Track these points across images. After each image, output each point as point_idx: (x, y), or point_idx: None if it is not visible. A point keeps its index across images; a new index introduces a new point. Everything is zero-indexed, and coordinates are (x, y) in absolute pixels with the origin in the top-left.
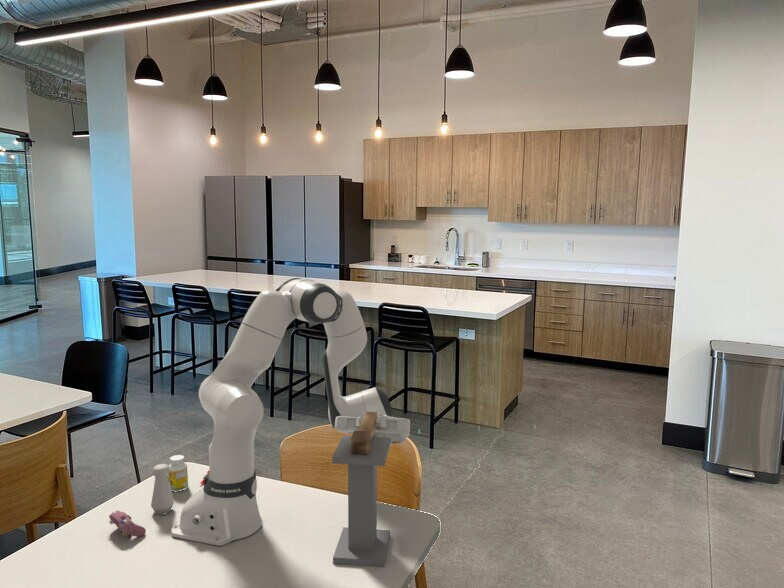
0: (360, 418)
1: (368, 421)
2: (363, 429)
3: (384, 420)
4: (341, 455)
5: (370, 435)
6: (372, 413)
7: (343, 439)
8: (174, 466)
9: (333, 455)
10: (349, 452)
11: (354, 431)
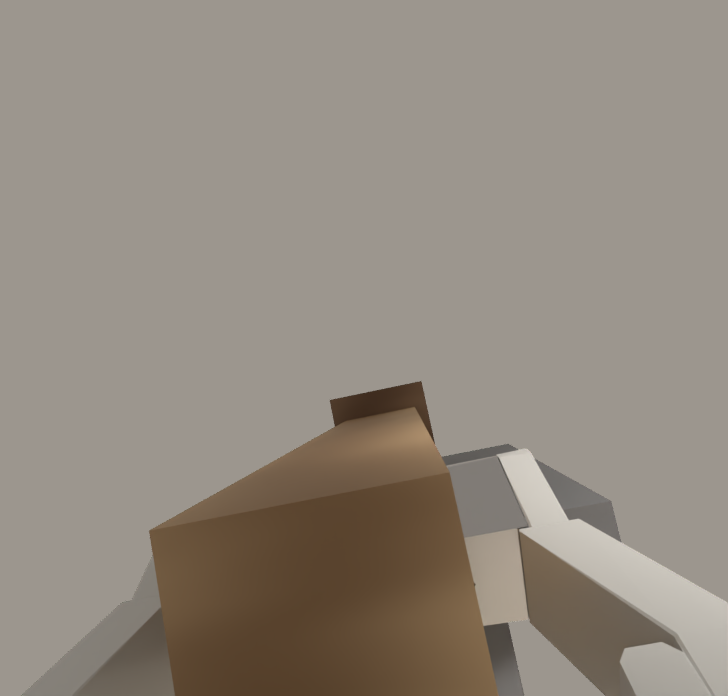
0: (493, 462)
1: (354, 435)
2: (382, 417)
3: (58, 682)
4: (475, 454)
5: (335, 417)
6: (285, 486)
7: (557, 485)
8: None
9: (509, 446)
10: (449, 464)
11: (416, 382)
